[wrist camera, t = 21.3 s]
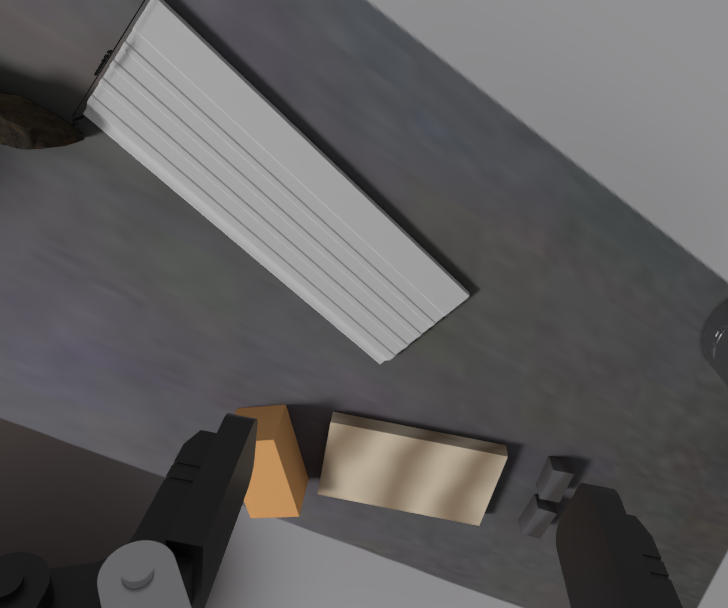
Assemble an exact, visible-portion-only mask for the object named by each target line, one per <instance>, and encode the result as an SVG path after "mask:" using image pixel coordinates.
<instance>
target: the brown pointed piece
mask: <svg viewBox="0 0 728 608" xmlns="http://www.w3.org/2000/svg"><path fill="white" fill-rule="evenodd" d="M83 139H85V138H84V137H83V135H82V133H80V132H79V131H78V130H77V129H76V128H74V127H72V126H71V125H70V124H68V123H67V122H65V121H64V120H62V119H61V118H59V117H58V116H56V115H55V114H53V113H51V112H50V111H48V110H45V109H43V108H41V107H39V106H38V105H36V104H34V103H33V102H31V101H29V100H27V99H26V98H24V97H22V96H18V95H9V94H5V93H1V92H0V144H2V145H8V146H10V147H14V148H19V149H43V148H51V147H60V146H66V145H70V144H73V143H76V142H79V141H82V140H83Z"/></svg>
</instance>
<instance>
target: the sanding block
mask: <svg viewBox="0 0 728 608" xmlns="http://www.w3.org/2000/svg"><path fill="white" fill-rule="evenodd" d="M235 414H236V415H241V416H246V417H251V418H256V419H257V420H258V425H257V437H256V448H255V459H254V467H253V472H252V476H251V480H250V484H249V487H248V490H247V493H246V495H245V498H244V502H245V505H246V507H247V510H248V512H249V515H250V517H251V518H270V517H298V516H299V515H300V511H301V507H302V503H303V499H304V495H305V491H306V487H307V483H308V475H307V472H306V469H305V466H304V462H303V459H302V456H301V453H300V449H299V446H298V443H297V439H296V436H295V433H294V430H293V426H292V423H291V420H290V416H289V413H288V410H287V407H286V405H275V406H261V407H248V408H237V410H236V412H235Z"/></svg>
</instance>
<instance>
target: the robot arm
mask: <svg viewBox="0 0 728 608" xmlns="http://www.w3.org/2000/svg"><path fill="white" fill-rule="evenodd" d="M702 350H703V353H704V355H705V358H706V360H707V361H708V362H709V363H710V365H711V366H712V367H713V368H714V370H715V371H716V372H717V374H718V375H719V376H720V377H721V379H722V380H723V381H724V382H725V384H726V385H727V386H728V300H727V301H725V302H724V303H723V304H722V305H721V306H720V307H719V308H718V309H717V310H716V311H715V312H714V313H713V315H712V316H711V317H710V319H709V320H708V322H707V324H706V326H705V329H704V331H703V336H702ZM257 425H258V420H257V419H256V418H251V417H246V416H241V415H236V414H231V413H227V414H226V416H225V417H224V419H223V421H222V424H221V426H220V428H219V430H218V432H217V433H213V432H208V431H202V430H200V431H199V432H198V433H197V434H195V435H194V436H193V437H192V438H190V439H189V440H188V441H187V442H186V443H184V444H183V446H182V448H181V450H180V452H179V454H178V455H177V457H176V459H175V461H174V464H173V465H172V466H171V468H170V470H169V472H168V474H167V476H166V479H165V480H164V481H163V483H162V485H161V487H160V489H159V491H158V492H157V494H156V496H155V498H154V500H153V501H152V503H151V505H150V507H149V509H148V510H147V512H146V514H145V516H144V518H143V520H142V521H141V523H140V525H139V527H138V529H137V531H136V532H135V534H134V536H133V537H132V539H131V540H130V541H129V542H128V543H127V544H126V545H124V546H123V547H121V548H119V549H117V550H116V551H115V552H114V553H112V554H111V555H110V556H109V557H108V558H106V559H103V560H101V561H97V562H94V563H89V564H83V565H74V566H66V567H57V568H49V566H48V565H47V563H46V562H45V560H44V559H43V558H41V557H40V556H38V555H36V554H33V553H28V552H17V553H10V554H6V555H3V556H0V608H205V605H206V603H207V600H208V597H209V594H210V592H211V589H212V586H213V584H214V581H215V578H216V575H217V573H218V570H219V567H220V564H221V562H222V559H223V556H224V553H225V551H226V548H227V545H228V542H229V539H230V537H231V534H232V531H233V529H234V526H235V523H236V520H237V517H238V515H239V512H240V509H241V506H242V504H243V501H244V498H245V495H246V493H247V490H248V487H249V484H250V480H251V476H252V472H253V467H254V459H255V448H256V437H257ZM556 547H557V552H558V556H559V560H560V565H561V569H562V573H563V577H564V581H565V585H566V589H567V593H568V597H569V601H570V605H571V608H683V607H682V605H681V603H680V600H679V598H678V596H677V593H676V591H675V589H674V586H673V584H672V582H671V580H669V579H668V576H669V575H668V572H667V570H666V568H665V565H664V563H663V562H661V556H660V554H659V552H658V549H657V547H656V545H655V542H654V540H653V538H652V536H651V535H650V533H649V532H648V531H647V530H646V528H645V527H644V526H643V525H642V524H641V522H640V521H639V520H638V519H637V517H636V516H633V515H628V514H626V511H625V509H624V506H623V504H622V501H621V499H620V496H619V494H618V493H617V491H616V490H614V489H610V488H605V487H600V486H595V485H590V484H584V483H582V484H580V485H579V486H578V488H577V490H576V491H575V493H574V495H573V497H572V499H571V501H570V503H569V505H568V507H567V508H566V510H565V512H564V514H563V516H562V518H561V520H560V522H559V524H558V527H557V533H556Z"/></svg>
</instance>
